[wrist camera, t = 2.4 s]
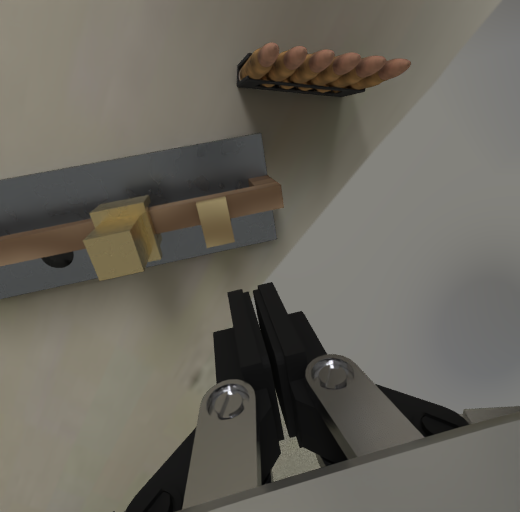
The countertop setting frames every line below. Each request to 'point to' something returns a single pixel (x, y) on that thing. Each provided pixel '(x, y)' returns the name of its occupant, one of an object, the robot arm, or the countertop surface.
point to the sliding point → (122, 238)
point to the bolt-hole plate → (124, 187)
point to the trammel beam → (154, 222)
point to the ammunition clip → (315, 71)
